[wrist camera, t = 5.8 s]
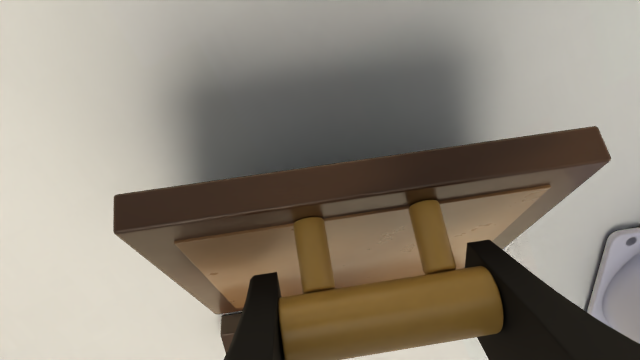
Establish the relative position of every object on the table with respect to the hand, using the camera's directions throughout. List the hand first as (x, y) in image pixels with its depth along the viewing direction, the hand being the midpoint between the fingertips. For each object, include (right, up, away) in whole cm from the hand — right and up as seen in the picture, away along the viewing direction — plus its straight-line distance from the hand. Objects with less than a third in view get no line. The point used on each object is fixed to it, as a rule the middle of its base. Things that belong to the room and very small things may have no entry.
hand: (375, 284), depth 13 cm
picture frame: (0, +1, +5) cm, 5 cm away
